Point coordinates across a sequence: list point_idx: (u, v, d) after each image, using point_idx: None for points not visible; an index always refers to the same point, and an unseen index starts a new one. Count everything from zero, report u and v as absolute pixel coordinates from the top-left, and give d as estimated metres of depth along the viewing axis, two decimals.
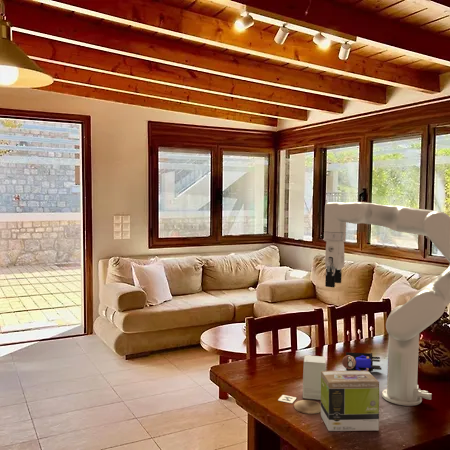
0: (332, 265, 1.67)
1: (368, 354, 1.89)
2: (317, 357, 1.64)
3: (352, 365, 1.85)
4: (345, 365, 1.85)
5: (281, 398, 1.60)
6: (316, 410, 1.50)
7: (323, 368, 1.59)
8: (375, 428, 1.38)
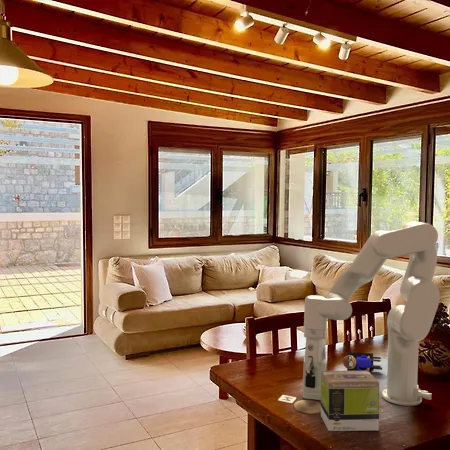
0: None
1: (369, 354, 1.89)
2: None
3: (353, 365, 1.85)
4: (346, 365, 1.85)
5: (281, 398, 1.60)
6: (316, 410, 1.50)
7: (323, 368, 1.59)
8: (375, 428, 1.38)
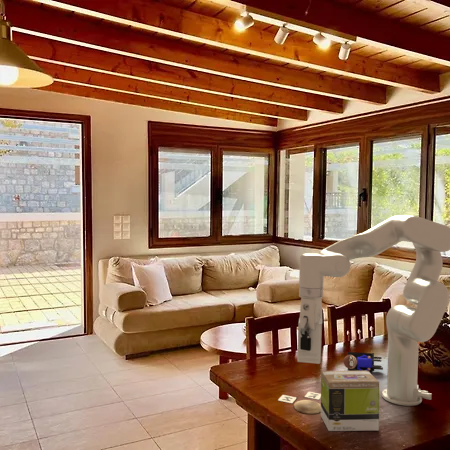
0: None
1: (370, 354, 1.90)
2: None
3: (353, 365, 1.85)
4: (346, 365, 1.86)
5: (281, 398, 1.60)
6: (316, 410, 1.50)
7: (319, 329, 1.49)
8: (375, 428, 1.38)
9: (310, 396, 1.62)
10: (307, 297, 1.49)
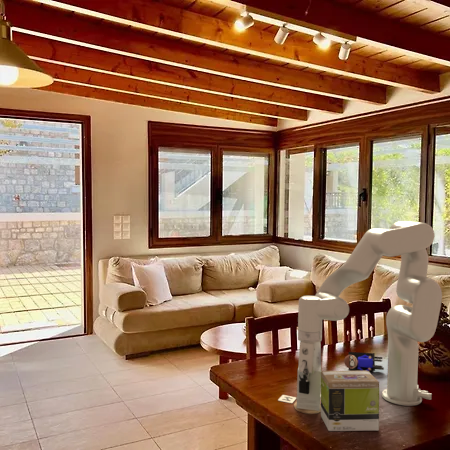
0: (306, 368, 1.50)
1: (371, 354, 1.90)
2: None
3: (354, 364, 1.85)
4: (347, 364, 1.86)
5: (281, 398, 1.60)
6: None
7: (318, 377, 1.49)
8: (375, 428, 1.38)
9: None
10: (306, 341, 1.49)
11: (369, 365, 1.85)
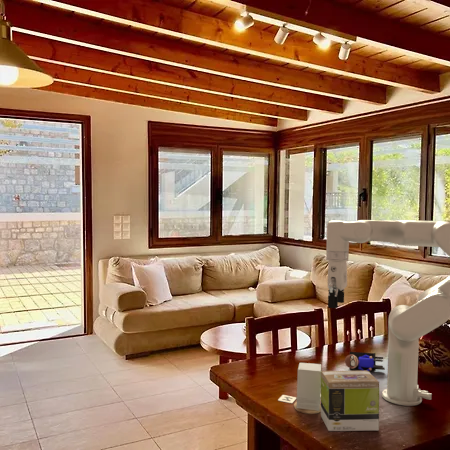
0: (335, 285, 1.63)
1: (372, 354, 1.90)
2: (313, 365, 1.55)
3: (354, 364, 1.85)
4: (348, 364, 1.86)
5: (281, 398, 1.60)
6: None
7: (318, 377, 1.49)
8: (375, 428, 1.38)
9: None
10: (334, 260, 1.62)
11: (370, 365, 1.85)
